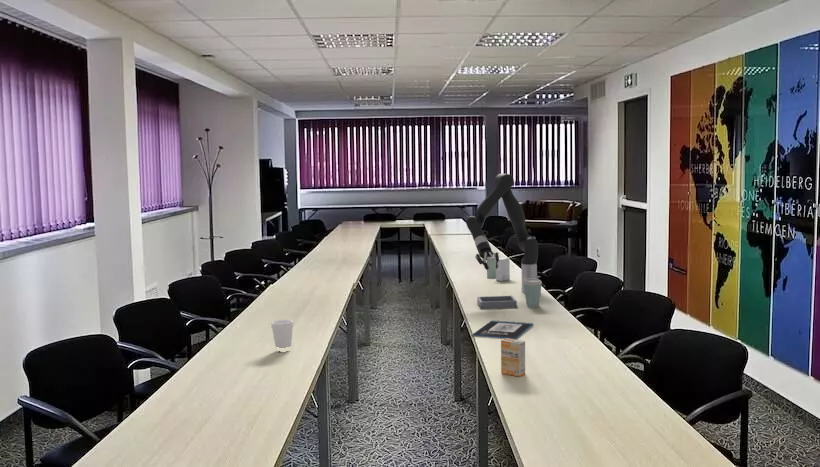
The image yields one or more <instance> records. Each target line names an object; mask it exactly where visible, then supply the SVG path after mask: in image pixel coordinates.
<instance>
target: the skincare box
mask: <svg viewBox="0 0 820 467" xmlns="http://www.w3.org/2000/svg"><path fill="white" fill-rule="evenodd" d="M497 264H498V268H497V269H496V279H495V281H498V282H504V281H508V280H510V279H511V278H510V277H511V275H510V258H509V257H505V256H503V257H499V261H498V263H497Z"/></svg>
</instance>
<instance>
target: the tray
mask: <svg viewBox="0 0 820 467" xmlns="http://www.w3.org/2000/svg"><path fill="white" fill-rule="evenodd" d="M476 298H477V300H476V301H477V304H478V306H479V308H480V310H481V309H502V308H503V309H504V308H505V309H506V308H507V309H509V308H518V302H517V300H516V299H515V298H516V297H515V296H513V295H494V296H492V295H491V296H487V295H486V296H477V297H476Z"/></svg>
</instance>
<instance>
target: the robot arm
mask: <svg viewBox="0 0 820 467" xmlns="http://www.w3.org/2000/svg"><path fill="white" fill-rule="evenodd" d="M514 182H515V180H514V177H513V176H512V174H509V173H498V174H497V175H495V178H494V184H495V186H496V187H495V189H494V190H493V191H492V192H491V193H490V194H488V196H487V197H486V198H484V200H482V202H481V203H480V204H479V206H478V207H477V208H476V211H475V214H476V215H470V216H468V217H466V220H465V224H466V227H467V229H468V230H469V233H470V234H471V236H472V239H473V241H474V245H475V247H476V250H477V252H478V253H476V254H475V259H476V261H477V262H478V263H479V265H483V267H484V269H485V270H486V271H487V270H488V268H489V267H488V265H487V257H496V269H497V268H498V264H497V263H498V261H499V258H500V256H499V252H494V251H493V250H492V248H491V245H490V242H489V240H488V238H487V236H486V234H485V231H484V230H483V229H482V227H483V226H484V222H485V221H486V218H487V216H488V215H489V213H490V212H491V211H492V209H493V208H494V207H495V206H496V204H497V203H498V202H499V200H500V199H501V198H502V202H503V204H504V207H505V211H506V213H507V215H508V219H509V221H510V223H511V225H512V227H513V230H514V233H515V236H516V241H517V244H518V247H519V249H520V250H521V252H523V253H524V256H523V258H522V259H521V260H520V262H521V263H520V264H521V266H520V267H521V292H522V293H525V291H524V285H523V281H524V279H526V278H532V279H539V276H538V266H537V263H538V259H539V244H538V243H539V242H538V241H537V239H536V238H534V237H530V235H529V234H528V231H527V228H526V215H525V212H524V210H523V207H522V206H521V204H520V202H519V201H518V199H517V197H516V196H515V195H514V194H513V190H512V187H513V186H514Z"/></svg>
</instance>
